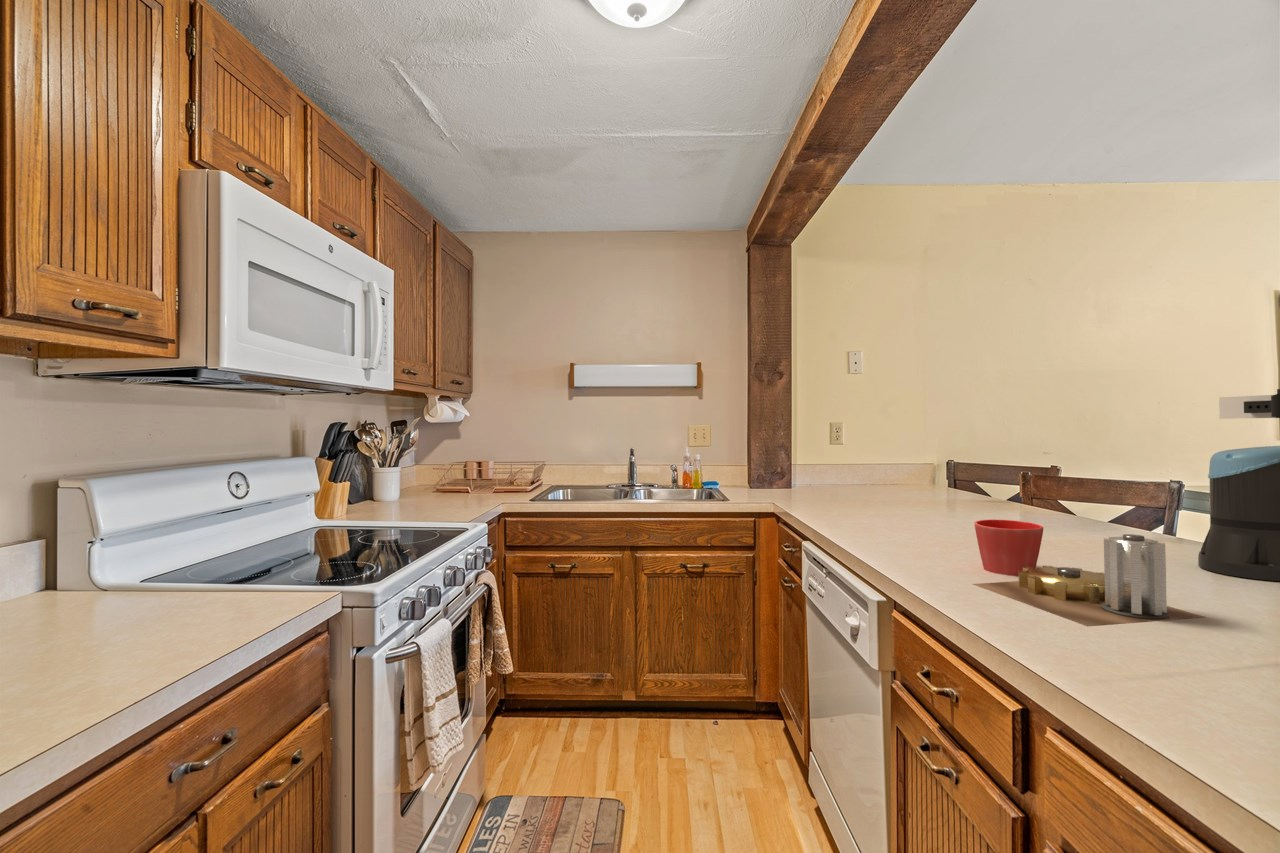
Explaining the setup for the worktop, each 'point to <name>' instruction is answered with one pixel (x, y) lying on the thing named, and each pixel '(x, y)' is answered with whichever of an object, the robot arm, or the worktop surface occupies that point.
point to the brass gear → (1064, 583)
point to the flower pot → (1008, 545)
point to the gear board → (1081, 607)
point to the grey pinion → (1135, 575)
